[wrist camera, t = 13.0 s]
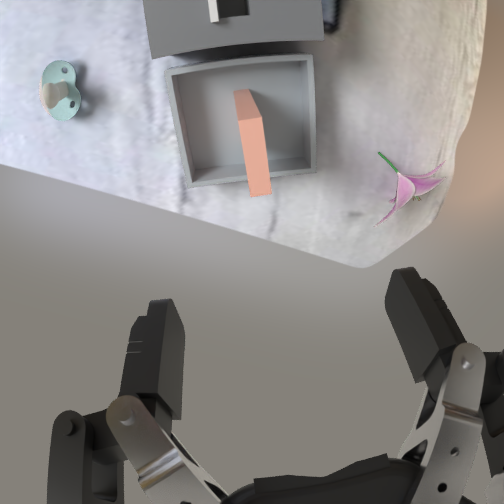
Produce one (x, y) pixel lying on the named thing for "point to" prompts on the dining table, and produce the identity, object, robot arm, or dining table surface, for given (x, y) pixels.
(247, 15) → the dispenser
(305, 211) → the dining table surface
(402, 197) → the lily
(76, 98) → the pacifier
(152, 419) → the robot arm
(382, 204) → the dining table surface
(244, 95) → the tall pink plank
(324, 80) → the dining table surface
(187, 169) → the bin
